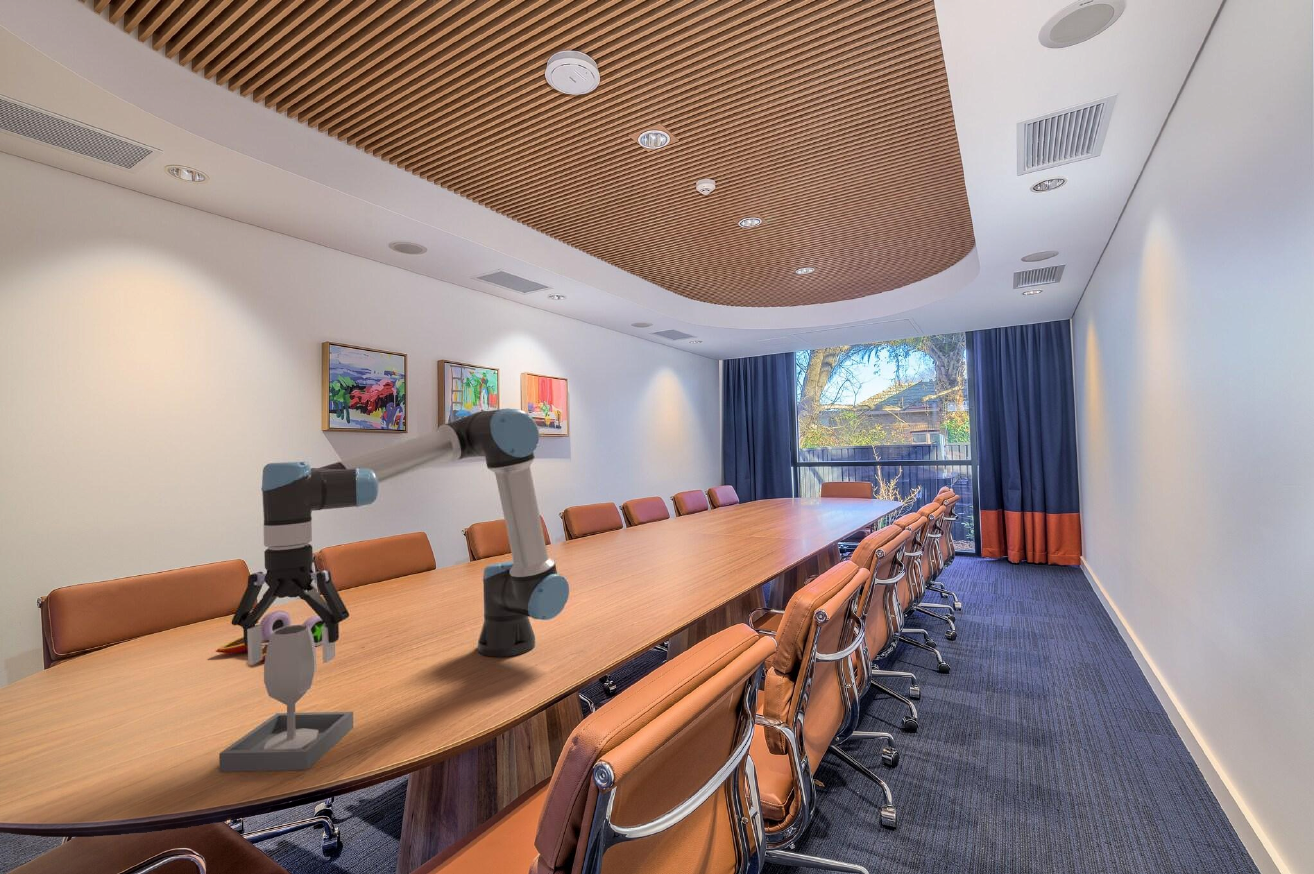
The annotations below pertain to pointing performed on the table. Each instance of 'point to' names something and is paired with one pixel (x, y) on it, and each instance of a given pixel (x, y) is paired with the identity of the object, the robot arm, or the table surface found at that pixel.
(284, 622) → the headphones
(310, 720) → the tray
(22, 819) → the table surface
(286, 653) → the wineglass
